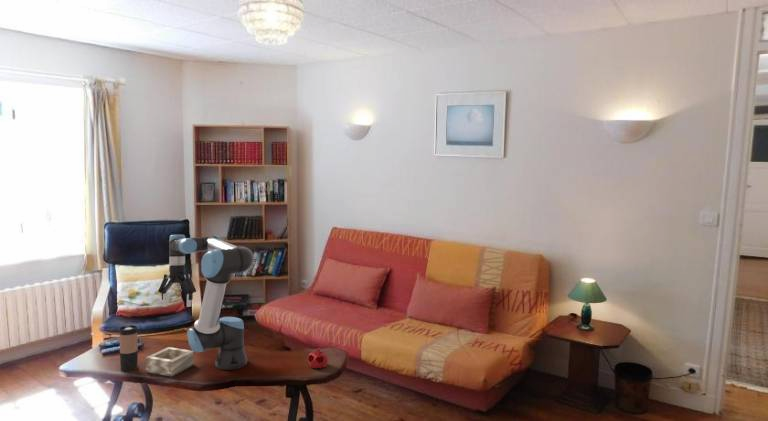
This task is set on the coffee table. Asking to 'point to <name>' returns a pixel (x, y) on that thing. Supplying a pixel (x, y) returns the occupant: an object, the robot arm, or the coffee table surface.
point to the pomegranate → (317, 359)
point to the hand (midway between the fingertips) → (177, 306)
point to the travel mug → (128, 348)
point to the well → (169, 361)
